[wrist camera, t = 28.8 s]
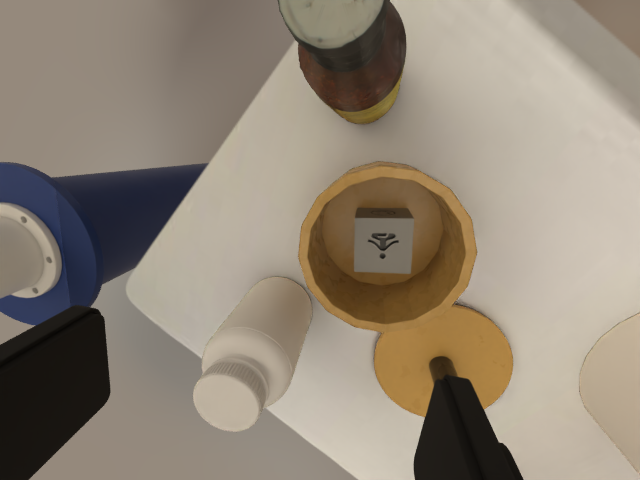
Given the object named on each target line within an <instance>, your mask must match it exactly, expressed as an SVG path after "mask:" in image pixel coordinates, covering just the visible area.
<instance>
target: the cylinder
mask: <svg viewBox="0 0 640 480" xmlns="http://www.w3.org/2000/svg"><path fill="white" fill-rule="evenodd" d="M579 392H580V395H581V397H582V400H583V403H584V406H585V408H586V410H587V411H588V412H589V413H590V415H591V416H592V417H593V418H594V420H595V421H596V422H597V423H598V425H599V426H600V427H601V428H602V430H603V431H604V432H605V433H606V434H607V436H608V437H609V438H610V439H611V441H612V442H613V443H614V444H615V445H616V447H617V448H618V449H619V450H620V452H621V453H622V454H623V455H624V456H625V458H626V459H627V460H628V461H629V462H630V464H631V465H632V466H633V467H634V469H635V470H636V471H637V472H638V473H639V475H640V313H639V314H637V315H635V316H633V317H631V318H629V319H627V320H625V321H623V322H621V323H619V324H617V325H616V326H615V327H614V328H612V329H611V330H610V331H609V332H607V333H606V334H605V335H604V336H602V337H601V338H600V339H599V340H598V341H597V343H596V344H595V345H594V347H593V348H592V349H591V351H590V352H589V353H588V355H587V356H586V359H585V361H584V364H583V367H582V369H581V372H580V387H579Z"/></svg>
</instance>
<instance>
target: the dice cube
mask: <svg viewBox="0 0 640 480" xmlns="http://www.w3.org/2000/svg"><path fill="white" fill-rule="evenodd" d="M413 230H414V218H413V216H412V214H411V213H410V211H409V209H408V208H357V210H356V215H355V242H354V272H377V273H403V274H411V262H412V246H413Z"/></svg>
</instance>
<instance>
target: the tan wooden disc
mask: <svg viewBox="0 0 640 480" xmlns="http://www.w3.org/2000/svg"><path fill="white" fill-rule="evenodd" d="M374 368H375V373H376V376H377V379H378V382H379V383H380V385H381V387H382V389H383V390H384V392H385V393H386V394H387V395H388V396H389V397H390V398H391V400H393V401H394V402H395V403H396V404H397V405H399V406H401V407H402V408H404V409H405V410H407V411H409V412H411V413H414V414H417V415H419V416H423V417H425V416H426V413H427V409H428V405H429V402H430V398H431V394H432V391H433V387H434V383H435V381H436V379H441V380H442V379H443V377H444V375H451V376H456V377H462V378H467V379H469V380H470V381H471V383H472V385H473V387H474V390H475V392H476V394H477V396H478V398H479V400H480V403H481V405H482V407H483V409H485V408H487V407H488V406H490V405H491V404H492V403H494V402H495V401H496V400H497V399H498V398H499V397H500V396H501V394H502V393H503V392H504V390H505V389H506V387H507V385H508V383H509V381H510V378H511V375H512V369H513V357H512V352H511V348H510V346H509V343H508V341H507V339H506V338H505V336H504V335H503V333H502V332H501V330H500V329H499V328H498V327H497V326H496V325H495V324H494V323H493V322H492V321H491V320H490V319H488V318H487V317H485V316H484V315H482V314H480V313H478V312H477V311H475V310H472V309H469V308H466V307H463V306H459V305H452V306H451V307H450V308H449V310H448V311H446V312H445V313H443V314H441V315H440V316H438V317H436V318H434V319H432V320H431V321H429V322H427V323H425V324H424V325H422V326H420V327H417V328H412V329H406V330H400V331H393V332H387V333H386V332H385V333H384V332H382V334H381V336H380V337H379V340H378V342H377V344H376V348H375V354H374Z"/></svg>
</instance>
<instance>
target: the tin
mask: <svg viewBox="0 0 640 480" xmlns="http://www.w3.org/2000/svg"><path fill="white" fill-rule="evenodd" d="M357 208H408V209H409V211H410V213H411V214H412V216H413V218H414V230H413V246H412V262H411V274H403V273H377V272H354V242H355V215H356V210H357ZM476 255H477V249H476V243H475V237H474V231H473V225H472V220H471V218H470V216H469V215H468V213H467V212H466V210H465V209H464V208H463V206H462V205H461V203H460V202H459V200H458V199H457V198H456V196H455V195H454V193H453V192H452V190H450V189H449V188H448V187H446V186H444V185H443V184H441V183H439V182H438V181H436V180H434V179H432V178H431V177H429V176H427V175H426V174H424V173H422V172H421V171H419V170H417V169H415V168H413V167H410V166H408V165H405V164H397V163H389V162H381V161H378V162H374V163H370V164H366V165H363V166H360V167H356V168H352V169H351V170H349V171H348V172H347V173H345V174H344V175H343V176H342V177H340V178H339V179H338V180H336V181H335V182H334V183H333V184H331V185H330V186H329V187H328V188H327V189H326V190H325V191H324V192H322V193H321V194H320V195H319V196H318V197H317V199H316V201H315V202H314V204H313V206H312V208H311V210H310V211H309V213H308V215H307V217H306V219H305V220H304V222H303V224H302V226H301V235H300V244H299V254H298V257H299V262H300V265H301V268H302V271H303V275H304V278H305V281H306V284H307V287H308V288H309V290H310V291H311V292H312V293H313V294H314V296H315V297H316V298H317V299H318V301H319V302H320V303H321V304H322V306H323V307H324V308H325V309H326V310H327V311H328V312H330V313H331V314H333V315H335V316H336V317H338V318H340V319H342V320H343V321H345V322H347V323H348V324H350V325H352V326H354V327H357V328H362V329H368V330H373V331H378V332H384V333H385V332H386V333H387V332H393V331H400V330H406V329H412V328H417V327H420V326H422V325H424V324H425V323H427V322H429V321H431V320H432V319H434V318H436V317H438V316H440V315H441V314H443V313H445V312H446V311H448V310H449V308H450V307H451V306H452V305H453V304H454V302H455V301H456V300H457V299H458V297H459V296H460V295H461V294H462V292H463V291H464V290H465V289H466V288H467V286H468V284H469V280H470V276H471V273H472V269H473V266H474V262H475V258H476Z"/></svg>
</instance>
